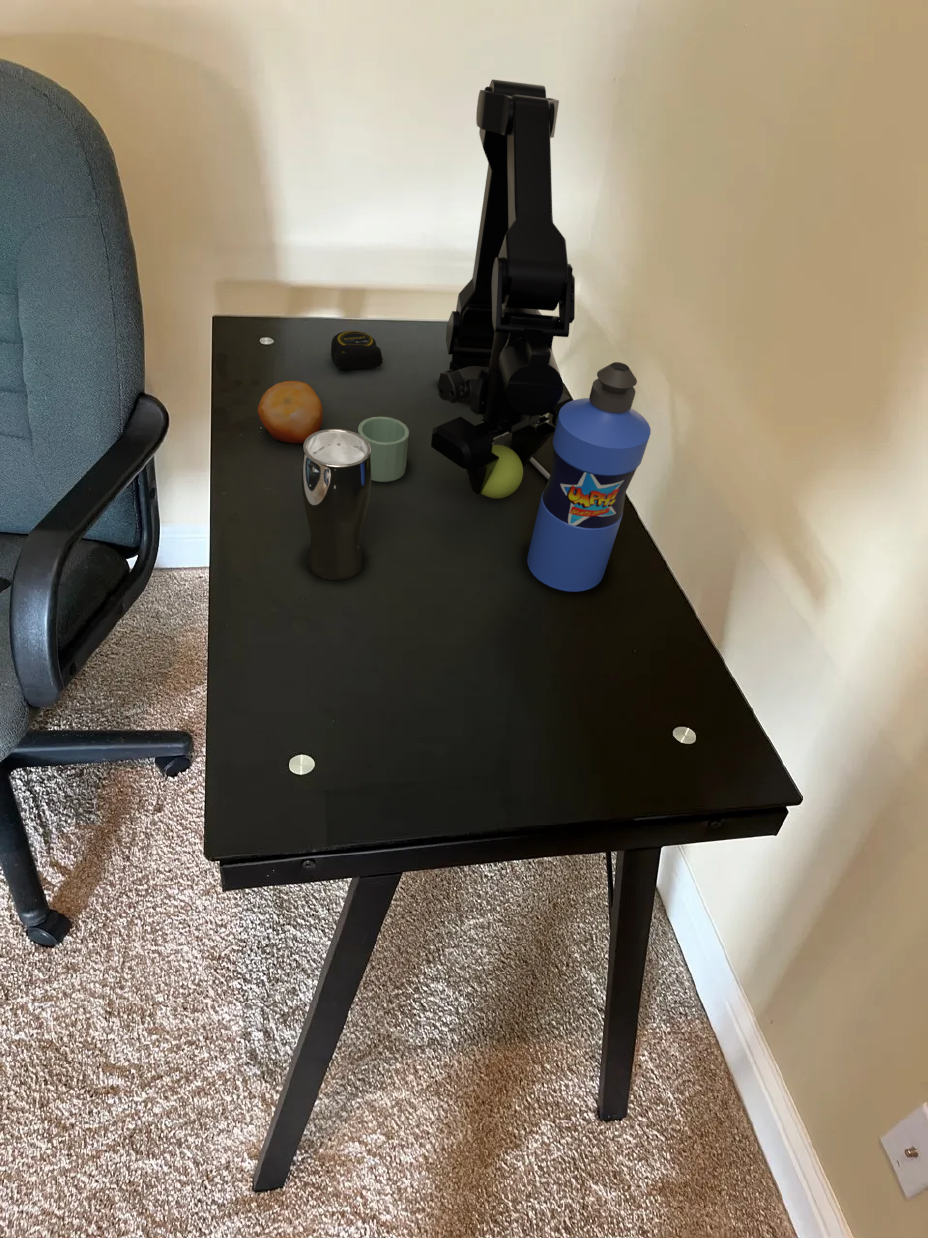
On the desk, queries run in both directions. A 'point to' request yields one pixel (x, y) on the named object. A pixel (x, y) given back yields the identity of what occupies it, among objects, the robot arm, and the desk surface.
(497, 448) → the ball
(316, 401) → the fruit
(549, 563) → the blue squeeze bottle
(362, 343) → the tape measure
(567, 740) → the desk surface
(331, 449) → the metal tumbler
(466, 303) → the robot arm
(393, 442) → the cup
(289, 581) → the desk surface
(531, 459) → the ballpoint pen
